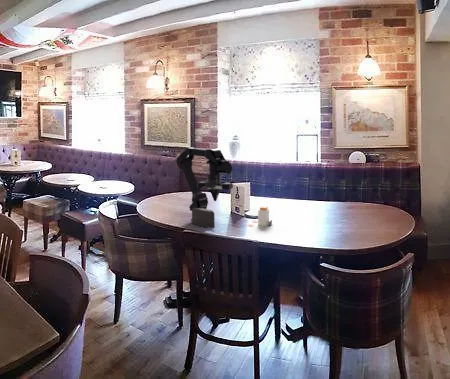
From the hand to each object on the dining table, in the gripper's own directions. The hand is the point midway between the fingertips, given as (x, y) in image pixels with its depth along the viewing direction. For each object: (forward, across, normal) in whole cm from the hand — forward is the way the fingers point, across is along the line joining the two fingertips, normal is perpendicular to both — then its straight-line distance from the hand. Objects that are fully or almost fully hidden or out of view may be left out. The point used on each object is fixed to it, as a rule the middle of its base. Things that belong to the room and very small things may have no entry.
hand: (215, 201), depth 217 cm
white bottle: (+12, +26, +5) cm, 29 cm away
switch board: (+13, +22, +5) cm, 26 cm away
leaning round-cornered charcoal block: (+13, -4, -7) cm, 16 cm away
